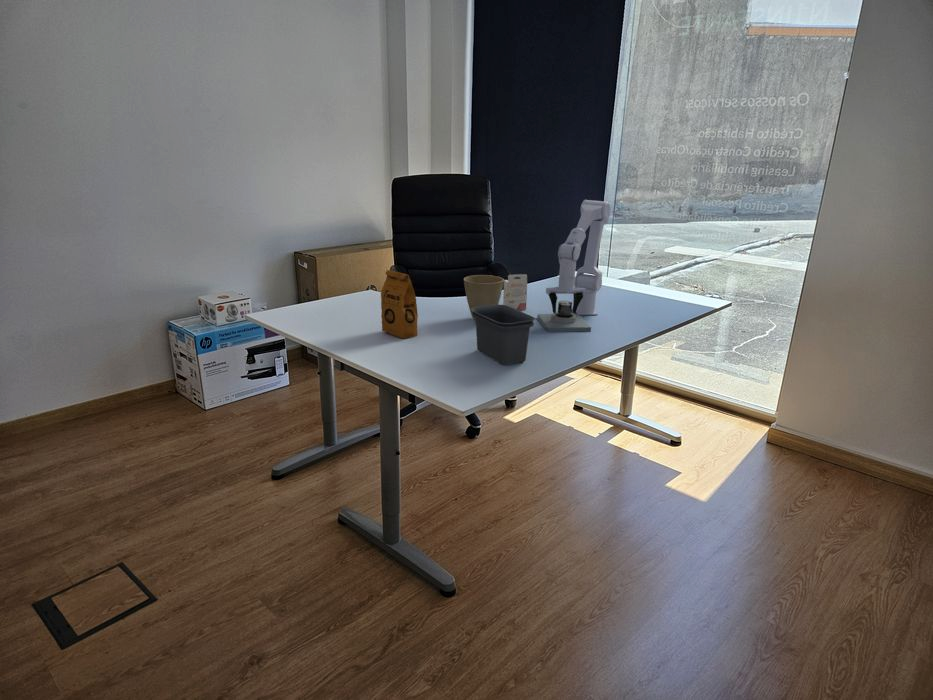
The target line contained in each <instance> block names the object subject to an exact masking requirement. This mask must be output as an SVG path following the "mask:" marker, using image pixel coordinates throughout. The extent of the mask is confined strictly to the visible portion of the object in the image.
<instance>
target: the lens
mask: <svg viewBox="0 0 933 700" xmlns="http://www.w3.org/2000/svg"><path fill="white" fill-rule="evenodd" d="M557 302H558V303H557V305H558V306H557V312H558V314H557V316H558V317H562V318H569V317H571V313H572V310H573V309H572V308H573V301H568V300H559V301H557Z"/></svg>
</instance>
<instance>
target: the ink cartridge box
mask: <svg viewBox="0 0 933 700" xmlns="http://www.w3.org/2000/svg"><path fill="white" fill-rule="evenodd" d="M527 292H528V275H527V273H526V274H525V273H524V274H522V273H520V274H508V275H507V279H504V282H503V297H502V299H503V300H502V303H503V304H502V305H506V306H509V307H511V308H514V309H516V310H519V311H523V310H525V311H526V310H527V300H528V299H527V298H528V296H527Z"/></svg>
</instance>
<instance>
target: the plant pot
mask: <svg viewBox="0 0 933 700" xmlns="http://www.w3.org/2000/svg"><path fill="white" fill-rule="evenodd" d="M504 280H505V279H504V278H502V277H500V276H496V275H490V274H489V275H487V274H475V275H468V276H466V277H464V278H463V285H464V289H465V290H464V291H465V296H466V301H467V304H468V305H467V306H468V309H469V312H470V314H471V318H472V320H473V321H474V322H476V318H475V317H473V316H472V313H473V311H472V310H471V308H473V307H479V306H488V305H500V302H501V301H500V299H501V296H502V292H503V288H504Z"/></svg>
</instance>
